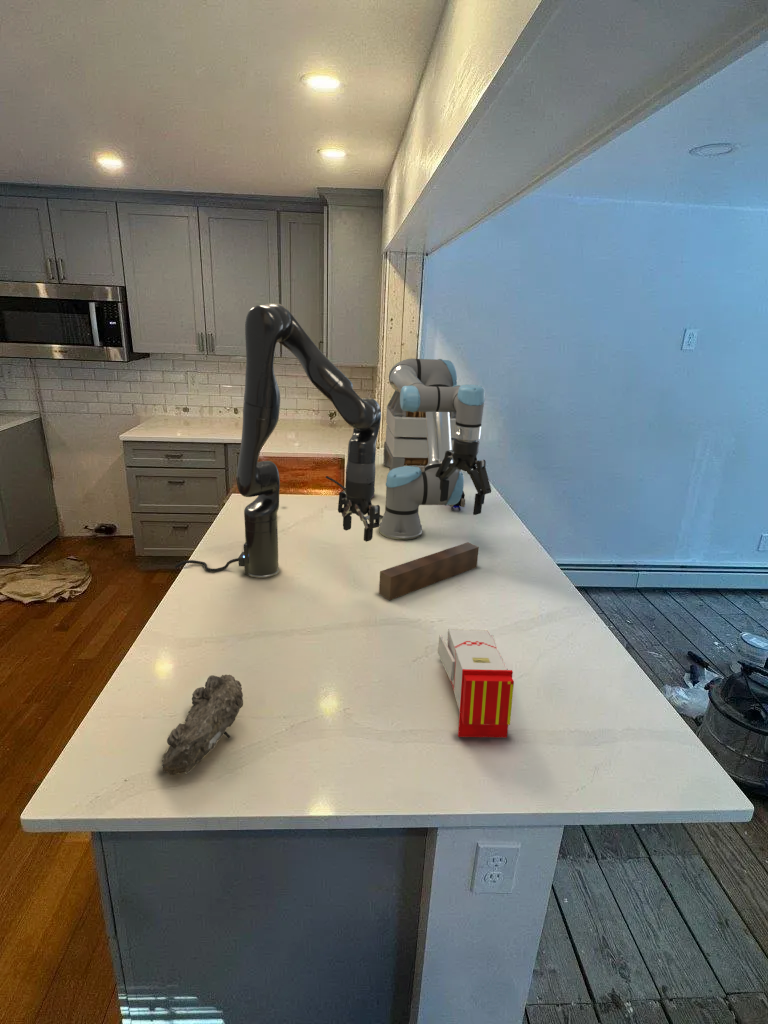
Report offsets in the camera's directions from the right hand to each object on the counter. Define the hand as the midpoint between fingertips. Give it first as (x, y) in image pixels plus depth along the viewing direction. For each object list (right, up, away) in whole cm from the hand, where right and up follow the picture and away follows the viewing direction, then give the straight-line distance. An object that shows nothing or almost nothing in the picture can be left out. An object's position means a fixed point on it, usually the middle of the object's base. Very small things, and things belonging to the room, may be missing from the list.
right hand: (459, 507), depth 173 cm
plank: (-9, -22, -7) cm, 24 cm away
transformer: (-6, +17, +102) cm, 103 cm away
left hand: (-30, -8, -22) cm, 38 cm away
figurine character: (+5, +1, +57) cm, 57 cm away
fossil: (-55, -42, -70) cm, 98 cm away
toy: (-5, -39, -55) cm, 68 cm away
